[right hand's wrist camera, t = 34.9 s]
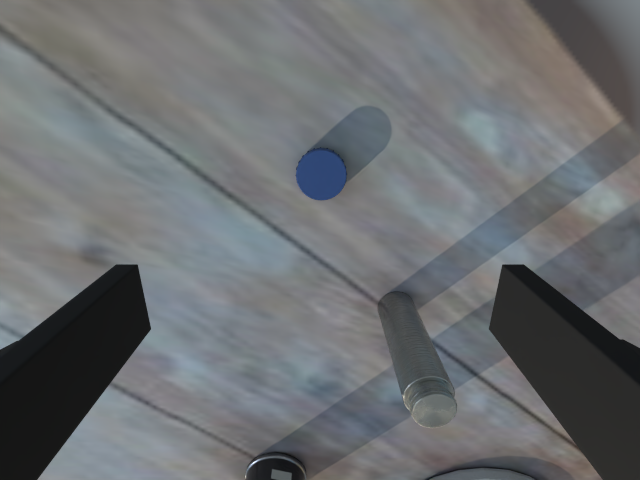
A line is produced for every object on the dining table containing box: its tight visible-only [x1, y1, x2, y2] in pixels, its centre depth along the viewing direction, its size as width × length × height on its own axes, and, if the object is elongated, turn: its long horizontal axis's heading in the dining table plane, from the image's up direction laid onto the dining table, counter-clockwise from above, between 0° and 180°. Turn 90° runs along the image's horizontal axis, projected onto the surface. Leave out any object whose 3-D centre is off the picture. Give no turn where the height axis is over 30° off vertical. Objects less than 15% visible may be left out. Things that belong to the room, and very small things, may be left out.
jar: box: [378, 292, 457, 428], centre depth 36 cm, size 4×4×16 cm
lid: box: [296, 147, 347, 200], centre depth 37 cm, size 5×5×2 cm
